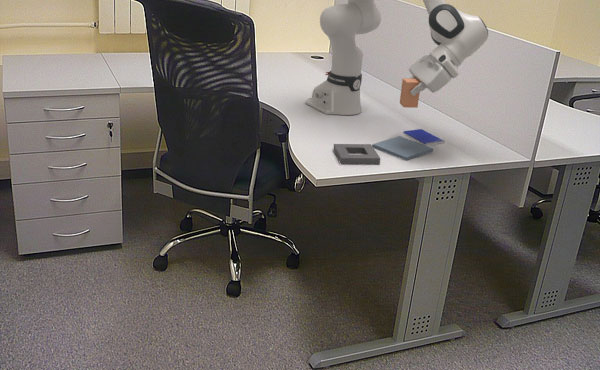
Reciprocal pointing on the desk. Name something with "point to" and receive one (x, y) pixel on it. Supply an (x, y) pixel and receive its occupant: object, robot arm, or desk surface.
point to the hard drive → (423, 137)
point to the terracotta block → (406, 96)
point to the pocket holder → (346, 158)
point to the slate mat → (402, 147)
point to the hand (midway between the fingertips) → (408, 91)
